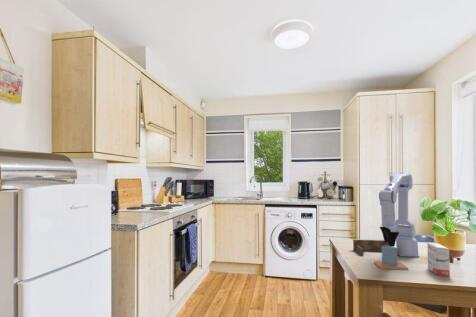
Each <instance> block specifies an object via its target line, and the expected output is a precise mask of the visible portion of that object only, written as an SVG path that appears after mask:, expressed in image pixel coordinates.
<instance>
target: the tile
mask: <svg viewBox="0 0 476 317" xmlns="http://www.w3.org/2000/svg"><path fill="white" fill-rule="evenodd" d="M372 263H373V264H374V265H375V266H376V267H378V268H379V269H381V270H402V271H403V270H406V271H408V270H409V267H407V266H406V265H405V264H403V263H402V262H401V261H397V263H398V266H389V265H387V264H385V263H383V262H382V260H373V262H372Z"/></svg>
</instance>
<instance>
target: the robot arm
mask: <svg viewBox="0 0 476 317" xmlns="http://www.w3.org/2000/svg"><path fill="white" fill-rule="evenodd" d="M412 189H413V176H412V174H411V173H410V172H409V173H390V175H389V183H387V184H386V186H385V187H384V189H383V190H380V191H379V193H378V199H379V205H380V210H381V224H380V225H381V226H379V229H380V231H381V233H382V237H383V240H384V241H385V242H388V244H389V246H392V247H395V245H396V247H395V248H397V256H399V257H417V258H418V257H420V255H419V244H418V243H419V242H418V240H417V239H416V238H415V237H416V229H415V228H416V227H415V224H414V223H413V222H412V221H410V220H409V191H410V190H412ZM397 200H398V201H397ZM396 202H397V208H398V210H397V216H398V217H397V219H396V208H395V207H396V205H395V204H396Z"/></svg>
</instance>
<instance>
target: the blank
mask: <svg viewBox="0 0 476 317" xmlns="http://www.w3.org/2000/svg"><path fill="white" fill-rule="evenodd" d="M381 261H382V262H383V263H385V264H387V265H389V266H398V263H397V262H398V254H397V247H395V246H389V245H385V246H382V251H381Z"/></svg>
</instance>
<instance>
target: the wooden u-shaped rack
mask: <svg viewBox="0 0 476 317" xmlns="http://www.w3.org/2000/svg"><path fill="white" fill-rule="evenodd" d="M352 244H353V246H352V247H353V248H352V250H353V251H356V253H358V254H359V255H360V256H362V257H363V256H364V252H382V246H385V245H389V244H388V242H385V241H384V239H382V240H381V239H379V240H378V239H352Z"/></svg>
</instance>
